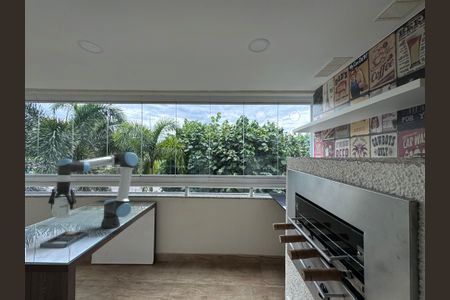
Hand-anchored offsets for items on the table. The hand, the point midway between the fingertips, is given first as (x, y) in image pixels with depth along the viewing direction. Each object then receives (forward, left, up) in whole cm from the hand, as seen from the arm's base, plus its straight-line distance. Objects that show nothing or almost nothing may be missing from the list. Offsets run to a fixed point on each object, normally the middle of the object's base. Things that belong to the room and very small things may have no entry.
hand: (61, 214), depth 159 cm
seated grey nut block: (0, -13, -20) cm, 24 cm away
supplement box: (0, 0, -2) cm, 2 cm away
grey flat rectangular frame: (0, -6, -20) cm, 21 cm away
